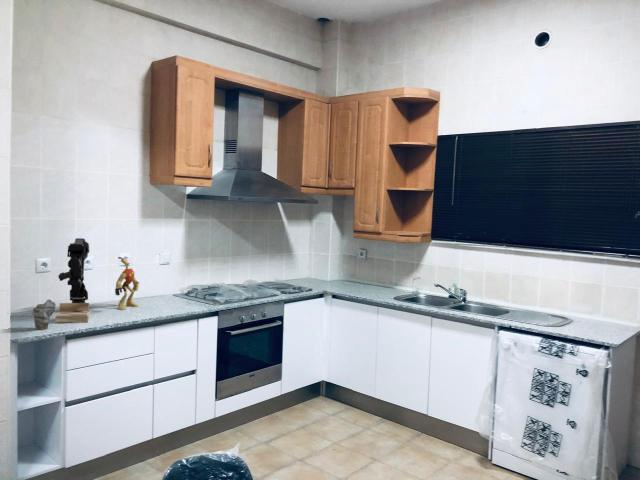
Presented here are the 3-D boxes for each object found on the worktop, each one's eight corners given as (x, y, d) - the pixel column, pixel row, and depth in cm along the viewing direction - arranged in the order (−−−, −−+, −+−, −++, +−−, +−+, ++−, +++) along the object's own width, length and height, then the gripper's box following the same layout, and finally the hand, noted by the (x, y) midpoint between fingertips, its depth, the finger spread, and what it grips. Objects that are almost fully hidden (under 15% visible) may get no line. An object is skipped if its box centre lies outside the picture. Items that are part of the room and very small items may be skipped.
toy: (120, 312, 299) (121, 259, 297) (107, 311, 301) (107, 258, 299) (142, 305, 322) (143, 255, 320) (129, 304, 324) (130, 255, 322)
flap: (59, 311, 278) (59, 311, 279) (88, 310, 283) (88, 310, 283) (59, 303, 279) (59, 303, 279) (88, 302, 283) (88, 302, 284)
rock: (31, 327, 259) (31, 296, 258) (43, 325, 264) (43, 295, 263) (43, 331, 252) (43, 300, 251) (55, 329, 256) (55, 299, 255)
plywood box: (58, 319, 278) (58, 311, 278) (89, 318, 283) (89, 310, 283) (55, 323, 269) (55, 315, 268) (87, 322, 274) (87, 314, 273)
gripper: (61, 264, 292) (61, 292, 293) (56, 269, 274) (56, 299, 275) (84, 264, 295) (83, 292, 297) (80, 269, 278) (80, 298, 279)
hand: (75, 295), depth 287 cm, fingers closed
